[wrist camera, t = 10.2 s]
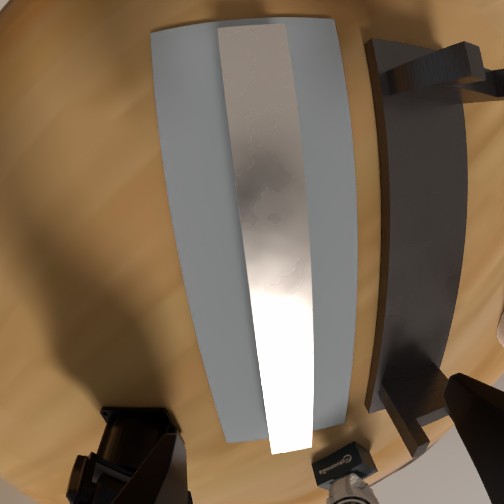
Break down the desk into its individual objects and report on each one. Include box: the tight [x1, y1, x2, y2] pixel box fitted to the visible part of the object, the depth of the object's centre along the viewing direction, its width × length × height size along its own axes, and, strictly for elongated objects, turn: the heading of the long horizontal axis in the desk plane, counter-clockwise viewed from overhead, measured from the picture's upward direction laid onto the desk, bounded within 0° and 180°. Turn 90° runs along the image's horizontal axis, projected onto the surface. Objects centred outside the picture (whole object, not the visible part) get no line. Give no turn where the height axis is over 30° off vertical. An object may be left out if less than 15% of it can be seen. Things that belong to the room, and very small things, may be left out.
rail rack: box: [364, 39, 504, 458], centre depth 15 cm, size 7×29×8 cm, turn 7°
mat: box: [151, 17, 358, 443], centre depth 19 cm, size 11×32×1 cm, turn 7°
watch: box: [312, 442, 379, 504], centre depth 22 cm, size 6×8×11 cm
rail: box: [217, 24, 313, 454], centre depth 17 cm, size 3×28×3 cm, turn 6°
